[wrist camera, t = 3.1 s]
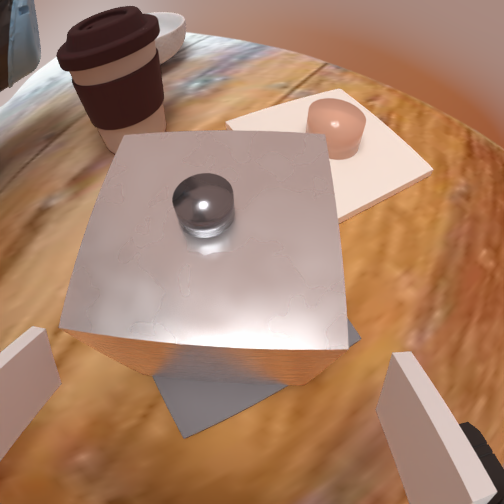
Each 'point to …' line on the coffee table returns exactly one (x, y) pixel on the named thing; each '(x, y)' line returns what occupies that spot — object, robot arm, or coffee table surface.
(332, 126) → the pink domed cylinder
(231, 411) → the rubber mat
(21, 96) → the coffee table surface
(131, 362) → the metal cover
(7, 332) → the coffee table surface
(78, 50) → the coffee cup
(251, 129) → the serving board
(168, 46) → the cereal bowl
